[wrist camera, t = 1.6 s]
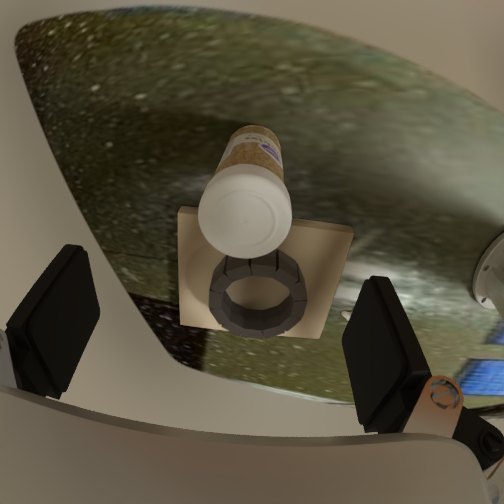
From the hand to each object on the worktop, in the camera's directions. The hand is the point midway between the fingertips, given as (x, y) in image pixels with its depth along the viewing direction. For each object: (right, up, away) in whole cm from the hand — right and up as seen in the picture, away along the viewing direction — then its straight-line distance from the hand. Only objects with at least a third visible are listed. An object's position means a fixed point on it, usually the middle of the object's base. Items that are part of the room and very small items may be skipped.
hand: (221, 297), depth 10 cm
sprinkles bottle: (+1, +10, +16) cm, 19 cm away
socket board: (+2, -1, +23) cm, 23 cm away
